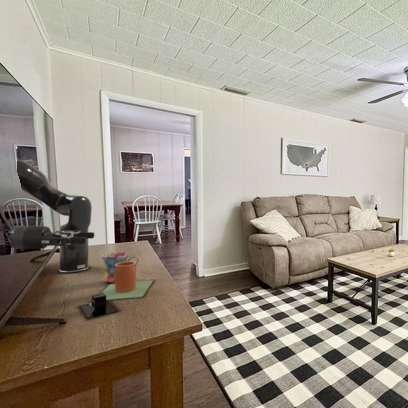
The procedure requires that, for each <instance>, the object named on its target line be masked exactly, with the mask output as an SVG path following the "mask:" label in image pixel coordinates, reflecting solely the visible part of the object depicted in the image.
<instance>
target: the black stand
mask: <svg viewBox="0 0 408 408" xmlns="http://www.w3.org/2000/svg"><path fill="white" fill-rule="evenodd" d="M80 309H82V311H83V312H84V314H85V316H86V318H87V319H88V320H90V319H94V318H98V317H103V316H106V315H110V314H115V313H118V312H119V310H118V309H117V308H116V307H115V306H114V305H113V303H112V302H111V300H108V299H107V300H106V295H105V294H104V293H101V292H98V293H94V294H91V302H90V303H85V304H81V305H80Z"/></svg>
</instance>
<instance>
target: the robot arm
mask: <svg viewBox="0 0 408 408" xmlns="http://www.w3.org/2000/svg"><path fill="white" fill-rule="evenodd" d="M18 159H19V160H18V161H17V173H18V176H19V179H20V183H21V188H22V190H23V191H24V192H23V191H22V192H23V193H25V194H26V195H28V196H30V197H32V198H34V199H35V200H38V201H39V202H41V203H43V204H44V205H45V206H47V207H48V208H49V209H51V210H52V211H53V212H55V213H57V214H59V215H62V216H64V217H68V220H67V222H66V223H64V224H62V225H60V226H59V230H56V231H54V232H52V231H51V228H50V227H49V226H45V225H42V226H41V225H14V226H15V227H14V229H15V231H14V234H13V237H12V243H11V248H10V249H15V250H16V249H20V250H21V249H23V250H24V249H29V250H30V249H36V250H37V249H45V248H47V247H50V246H51V247H59V273H62V274H72V273H80V272H83V271H87V270H88V269H89V268H90V267H89V239H91V240H92V239H94V238H95V232H93V231H90V232H89V227H90V226H91V223H92V209H93V207H92V202H91V200H90V199H89V198H88V197H87V196H84V195H77V194H76V195H75V194H68V193H65V192H64V191H61V190H59V189H58V188H56V187H55V186H53V185H52V183H51V182H50V180H49V178H48V177H47V175H45V174H44V172H42V171H41V170H39V169H38V168H36V167H35V166H33V165H31V164H30V163H28V162H27V161H24V160H22V159H20V158H18Z"/></svg>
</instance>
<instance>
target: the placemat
mask: <svg viewBox="0 0 408 408" xmlns="http://www.w3.org/2000/svg"><path fill="white" fill-rule="evenodd" d="M153 282H154V280H153V279H148V280H136V289H135V290H133V291H130V292H126V293H116V292H115V282H114V283H109V285H107V287H106V288H105V289H103V290H102V291H101V292H100V293H104V294H105V295H106V300H107V299H108V300H109V301H114V300H125V299H126V300H127V299H137V298H143V296H144V295H145V294H146V292H147V291H148V290H149V288H150V286H151V285H152V283H153Z"/></svg>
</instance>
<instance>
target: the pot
mask: <svg viewBox="0 0 408 408" xmlns="http://www.w3.org/2000/svg"><path fill="white" fill-rule="evenodd" d="M136 263H137V261H129V262H121V263H117V264H115V282H114V283H115V292H116V293H126V292H130V291H133V290H135V289H136V281H137V265H136Z"/></svg>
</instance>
